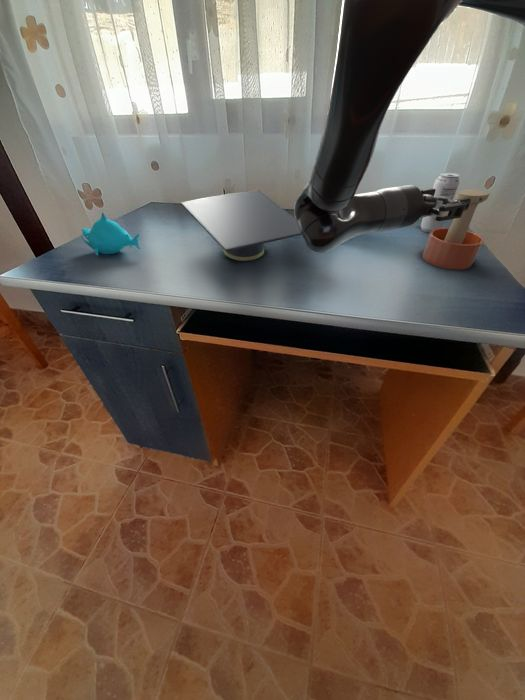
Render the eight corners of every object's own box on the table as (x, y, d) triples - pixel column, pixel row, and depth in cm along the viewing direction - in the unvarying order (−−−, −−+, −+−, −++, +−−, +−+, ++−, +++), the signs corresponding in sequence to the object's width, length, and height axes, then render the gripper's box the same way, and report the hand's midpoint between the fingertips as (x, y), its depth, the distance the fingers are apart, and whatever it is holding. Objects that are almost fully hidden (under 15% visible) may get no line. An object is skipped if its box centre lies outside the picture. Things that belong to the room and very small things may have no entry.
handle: (464, 260, 74) (494, 194, 64) (442, 263, 73) (469, 196, 63) (450, 252, 77) (477, 189, 67) (429, 255, 76) (453, 191, 66)
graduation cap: (185, 239, 85) (179, 201, 77) (257, 224, 93) (258, 188, 85) (224, 292, 68) (221, 250, 61) (307, 269, 76) (314, 230, 69)
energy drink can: (433, 226, 94) (453, 172, 84) (444, 233, 89) (466, 176, 79) (415, 227, 93) (433, 172, 83) (425, 234, 89) (445, 177, 79)
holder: (478, 259, 75) (489, 235, 71) (462, 274, 69) (474, 249, 65) (432, 247, 81) (440, 224, 77) (414, 260, 75) (422, 236, 71)
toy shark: (101, 243, 86) (87, 203, 79) (155, 250, 81) (145, 209, 74) (76, 257, 79) (57, 214, 72) (134, 265, 74) (120, 221, 67)
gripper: (427, 196, 50) (490, 185, 55) (370, 180, 60) (428, 172, 65) (412, 240, 55) (472, 227, 60) (362, 218, 65) (417, 208, 70)
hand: (449, 198), depth 62 cm, fingers open, 8 cm apart
